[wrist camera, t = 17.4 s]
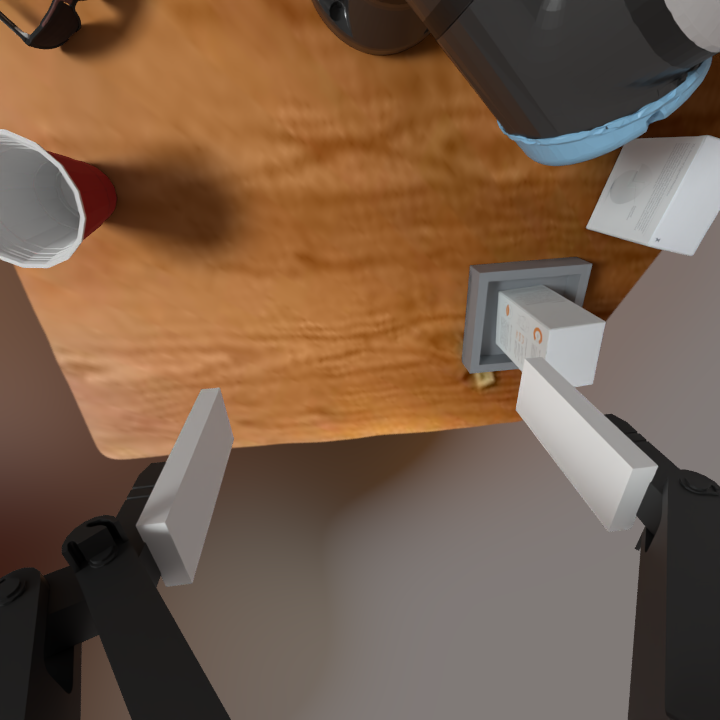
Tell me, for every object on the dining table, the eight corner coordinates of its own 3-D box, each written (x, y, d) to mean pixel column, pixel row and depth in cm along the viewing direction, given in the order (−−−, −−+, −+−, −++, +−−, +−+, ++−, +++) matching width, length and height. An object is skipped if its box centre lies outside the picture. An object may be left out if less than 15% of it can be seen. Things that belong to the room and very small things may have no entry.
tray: (470, 265, 50) (479, 273, 47) (576, 256, 51) (592, 263, 48) (461, 361, 57) (469, 373, 54) (555, 352, 58) (568, 363, 55)
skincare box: (626, 238, 51) (695, 258, 42) (584, 228, 50) (644, 246, 40) (672, 149, 46) (760, 150, 37) (626, 136, 45) (706, 133, 36)
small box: (537, 337, 55) (594, 385, 44) (494, 343, 55) (539, 394, 44) (544, 282, 52) (608, 321, 40) (497, 289, 51) (548, 330, 40)
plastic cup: (80, 108, 39) (-8, 94, 28) (162, 205, 44) (113, 224, 33) (7, 172, 41) (-101, 181, 30) (93, 258, 46) (26, 291, 35)
